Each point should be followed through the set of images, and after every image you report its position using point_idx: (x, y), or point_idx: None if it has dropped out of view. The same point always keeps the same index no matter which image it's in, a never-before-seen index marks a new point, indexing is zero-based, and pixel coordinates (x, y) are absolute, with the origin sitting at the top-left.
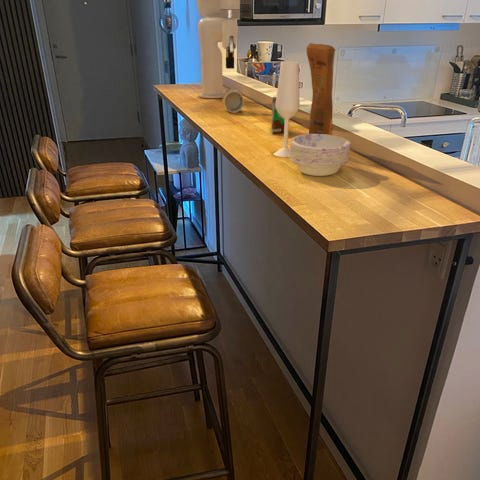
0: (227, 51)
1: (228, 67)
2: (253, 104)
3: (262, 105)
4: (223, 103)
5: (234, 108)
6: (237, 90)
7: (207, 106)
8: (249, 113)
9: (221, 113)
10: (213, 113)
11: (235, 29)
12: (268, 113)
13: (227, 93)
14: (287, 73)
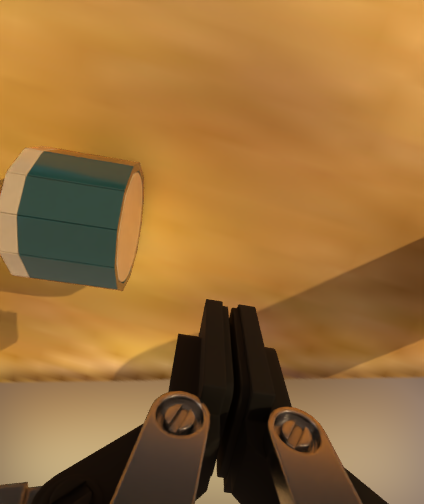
0: (114, 499)
1: (201, 324)
2: None
3: None
4: (65, 150)
5: (139, 227)
6: (95, 277)
7: (292, 102)
8: None
9: (49, 124)
10: (55, 74)
11: None
12: (24, 344)
13: (5, 179)
14: None
